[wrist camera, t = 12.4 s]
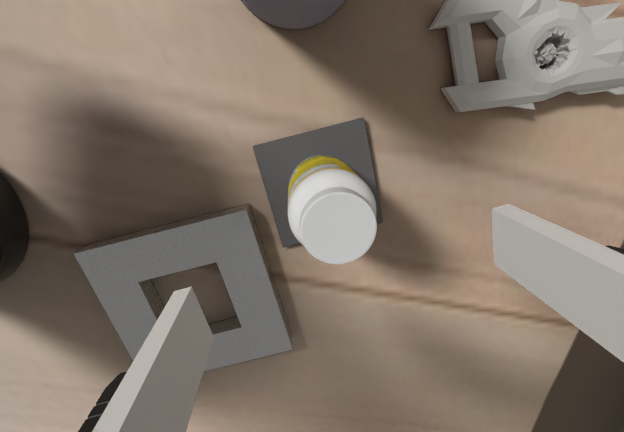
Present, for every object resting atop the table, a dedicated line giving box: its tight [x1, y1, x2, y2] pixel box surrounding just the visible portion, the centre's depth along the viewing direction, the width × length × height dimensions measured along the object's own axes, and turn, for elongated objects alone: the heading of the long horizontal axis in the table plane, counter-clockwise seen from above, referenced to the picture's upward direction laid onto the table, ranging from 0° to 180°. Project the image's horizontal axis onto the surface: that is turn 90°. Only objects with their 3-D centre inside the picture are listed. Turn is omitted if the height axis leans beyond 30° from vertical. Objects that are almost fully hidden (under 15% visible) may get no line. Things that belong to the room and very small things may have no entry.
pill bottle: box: [288, 155, 377, 264], centre depth 24 cm, size 6×6×11 cm
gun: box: [428, 0, 624, 112], centre depth 26 cm, size 18×4×10 cm
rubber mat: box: [253, 118, 383, 247], centre depth 30 cm, size 10×10×1 cm
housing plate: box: [74, 203, 293, 371], centre depth 32 cm, size 16×16×2 cm
